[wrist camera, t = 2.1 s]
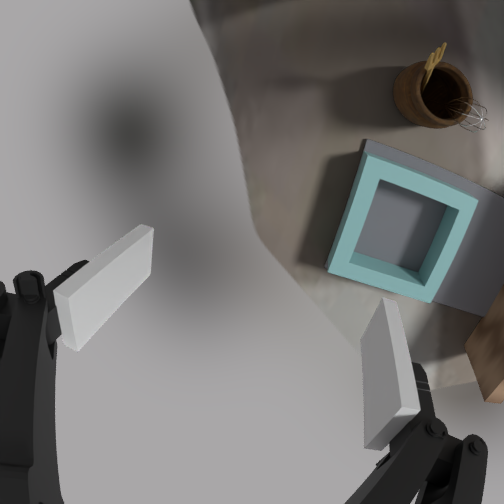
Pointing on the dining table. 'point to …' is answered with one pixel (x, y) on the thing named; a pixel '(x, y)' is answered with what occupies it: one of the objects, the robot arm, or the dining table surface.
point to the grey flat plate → (424, 230)
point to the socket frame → (440, 250)
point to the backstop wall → (489, 351)
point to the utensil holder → (434, 93)
